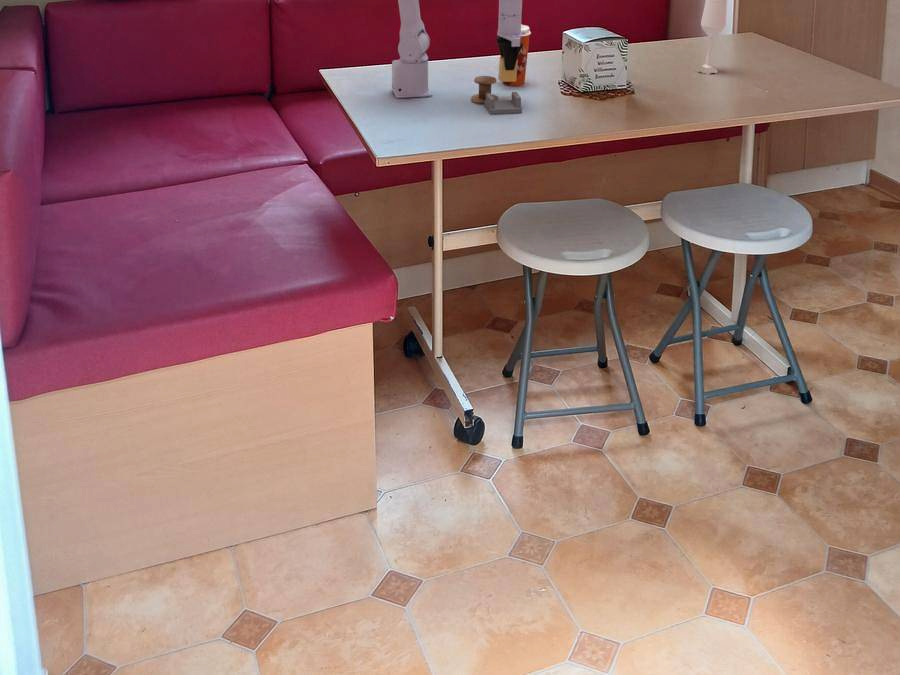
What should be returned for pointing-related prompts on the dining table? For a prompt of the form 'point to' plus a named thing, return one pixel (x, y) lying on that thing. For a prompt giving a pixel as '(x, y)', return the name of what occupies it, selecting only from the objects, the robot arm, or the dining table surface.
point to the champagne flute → (713, 22)
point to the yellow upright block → (506, 72)
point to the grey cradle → (503, 105)
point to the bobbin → (483, 89)
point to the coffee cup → (521, 59)
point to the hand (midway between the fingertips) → (508, 68)
